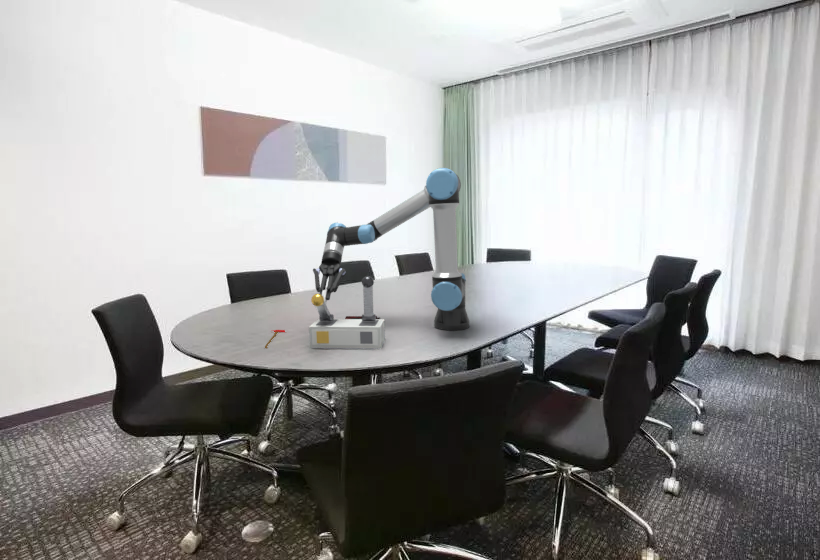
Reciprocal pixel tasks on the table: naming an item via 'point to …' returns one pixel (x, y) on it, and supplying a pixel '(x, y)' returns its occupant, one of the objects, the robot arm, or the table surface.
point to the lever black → (368, 299)
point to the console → (347, 334)
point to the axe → (274, 336)
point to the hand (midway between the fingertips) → (322, 306)
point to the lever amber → (321, 308)
